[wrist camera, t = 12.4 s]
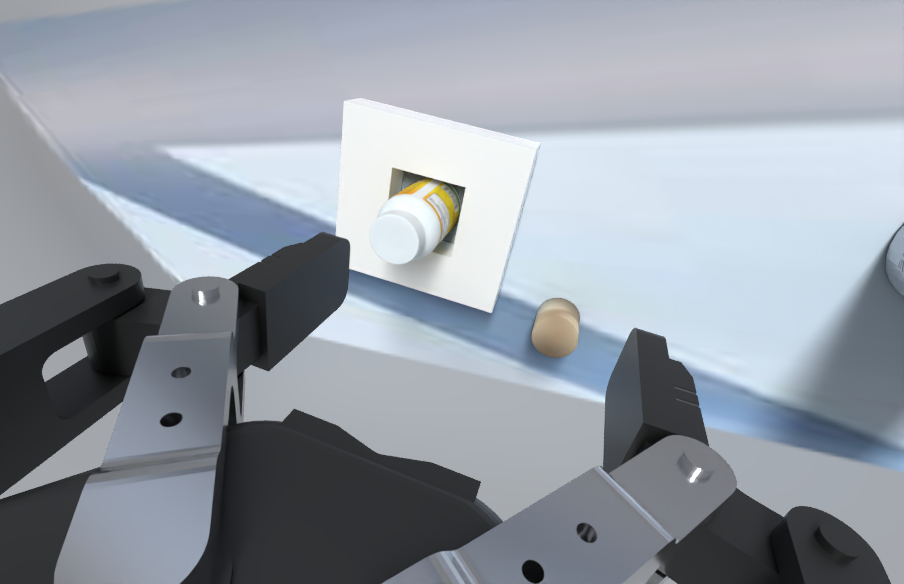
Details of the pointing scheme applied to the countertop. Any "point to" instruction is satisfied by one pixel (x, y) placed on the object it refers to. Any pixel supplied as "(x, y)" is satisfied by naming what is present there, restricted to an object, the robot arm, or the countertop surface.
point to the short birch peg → (556, 328)
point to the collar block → (446, 159)
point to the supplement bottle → (415, 221)
